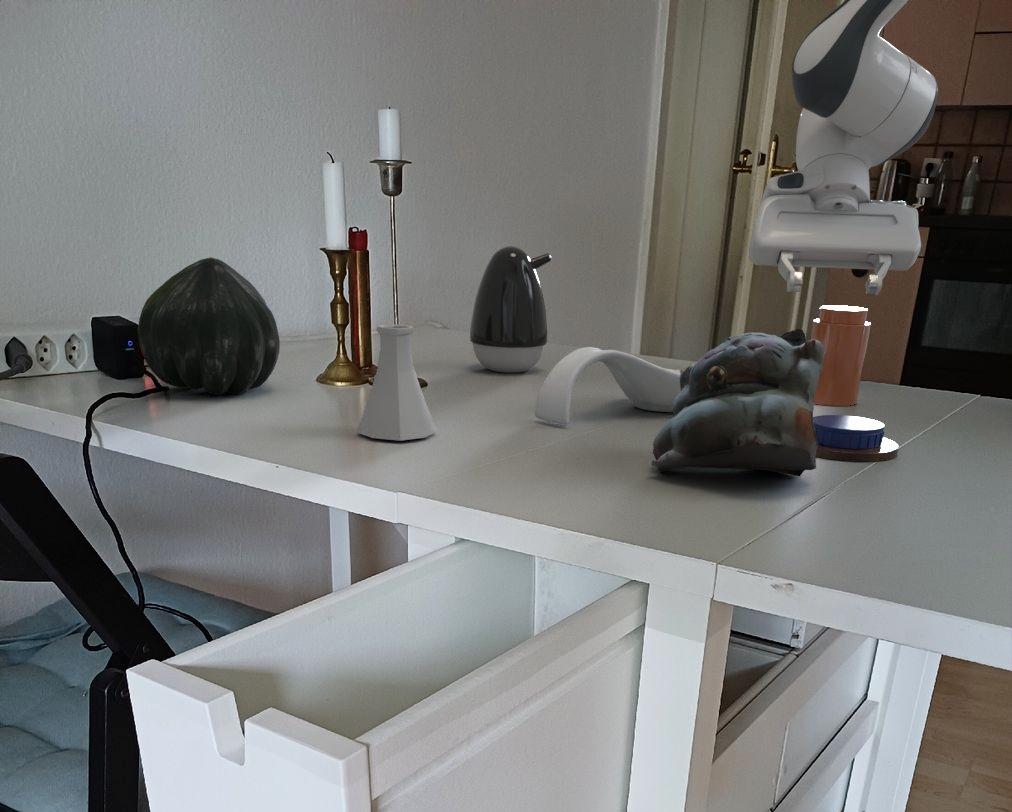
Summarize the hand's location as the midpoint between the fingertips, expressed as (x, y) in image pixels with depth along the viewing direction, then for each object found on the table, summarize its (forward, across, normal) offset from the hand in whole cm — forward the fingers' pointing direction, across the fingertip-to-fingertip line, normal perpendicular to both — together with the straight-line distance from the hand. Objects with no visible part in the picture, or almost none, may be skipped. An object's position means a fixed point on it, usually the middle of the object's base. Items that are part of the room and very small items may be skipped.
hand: (834, 290), depth 123 cm
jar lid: (+30, +4, +17) cm, 35 cm away
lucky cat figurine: (+40, +16, +23) cm, 49 cm away
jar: (+14, 0, -3) cm, 14 cm away
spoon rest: (+23, +24, +6) cm, 34 cm away
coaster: (+32, +4, +15) cm, 36 cm away
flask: (+35, +47, +18) cm, 61 cm away
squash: (+22, +71, +5) cm, 75 cm away
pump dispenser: (+5, +40, -12) cm, 42 cm away
